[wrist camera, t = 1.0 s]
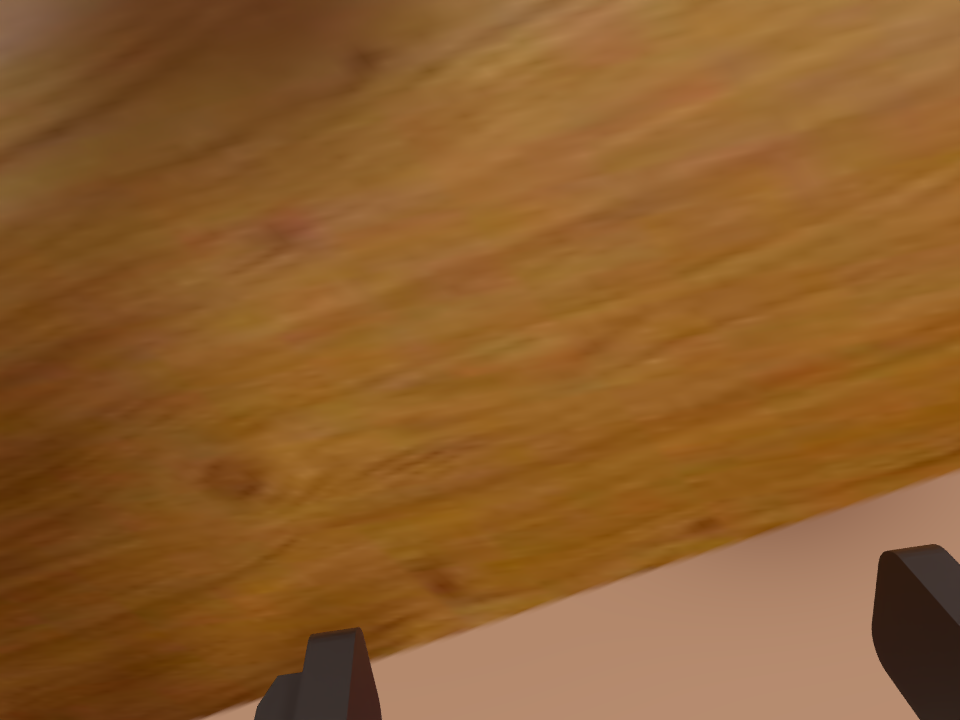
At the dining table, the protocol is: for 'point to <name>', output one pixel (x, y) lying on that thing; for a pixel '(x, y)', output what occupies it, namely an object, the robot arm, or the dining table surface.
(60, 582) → the dining table surface
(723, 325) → the dining table surface
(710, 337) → the dining table surface
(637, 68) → the dining table surface
